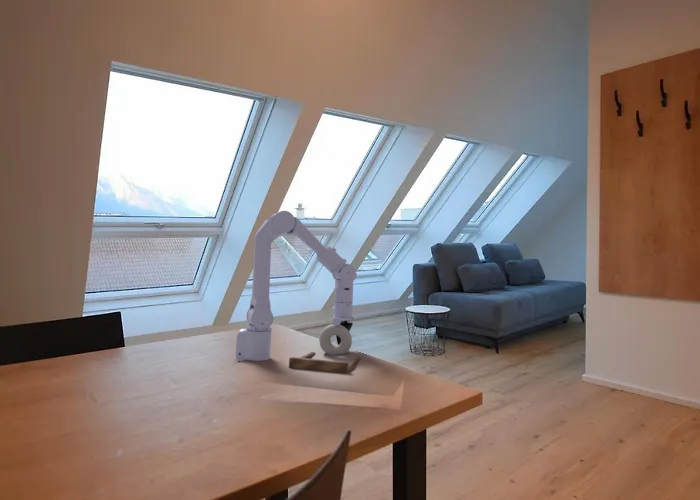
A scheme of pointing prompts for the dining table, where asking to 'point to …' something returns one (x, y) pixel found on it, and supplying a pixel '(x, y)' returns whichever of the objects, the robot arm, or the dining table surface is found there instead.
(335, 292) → the robot arm
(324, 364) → the guide track
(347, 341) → the donut
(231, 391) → the dining table surface
